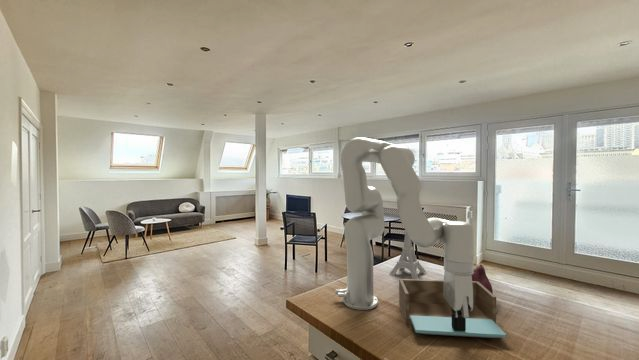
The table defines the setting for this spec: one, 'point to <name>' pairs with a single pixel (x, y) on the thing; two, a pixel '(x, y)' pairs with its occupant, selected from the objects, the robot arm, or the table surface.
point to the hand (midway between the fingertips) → (458, 329)
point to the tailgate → (444, 327)
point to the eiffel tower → (408, 260)
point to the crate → (441, 300)
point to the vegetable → (481, 277)
